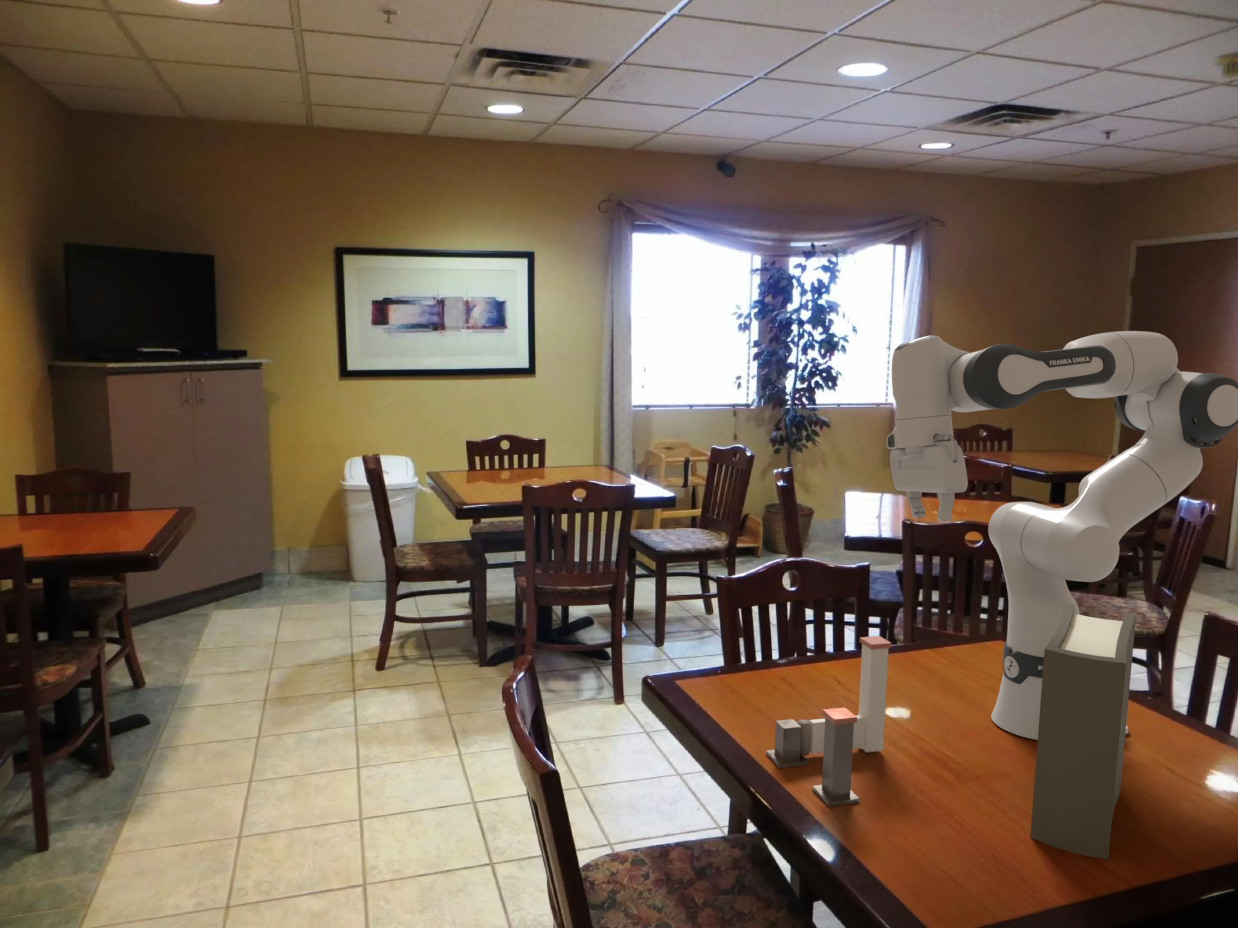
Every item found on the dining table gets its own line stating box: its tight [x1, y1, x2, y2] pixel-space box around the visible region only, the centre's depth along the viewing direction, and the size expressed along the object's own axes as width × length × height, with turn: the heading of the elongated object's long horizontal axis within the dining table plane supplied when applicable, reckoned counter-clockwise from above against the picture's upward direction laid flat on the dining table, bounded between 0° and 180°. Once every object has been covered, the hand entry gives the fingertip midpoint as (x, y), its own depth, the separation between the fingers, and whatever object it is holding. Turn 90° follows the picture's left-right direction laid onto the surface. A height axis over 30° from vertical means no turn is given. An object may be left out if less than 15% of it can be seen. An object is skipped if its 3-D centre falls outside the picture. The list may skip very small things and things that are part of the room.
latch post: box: [812, 707, 861, 807], centre depth 130 cm, size 5×5×13 cm
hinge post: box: [765, 718, 809, 769], centre depth 142 cm, size 5×5×6 cm
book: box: [1029, 604, 1137, 860], centre depth 124 cm, size 22×9×28 cm, turn 147°
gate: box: [797, 635, 892, 757], centre depth 143 cm, size 15×4×18 cm, turn 104°
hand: (931, 519), depth 145 cm, fingers open, 8 cm apart
